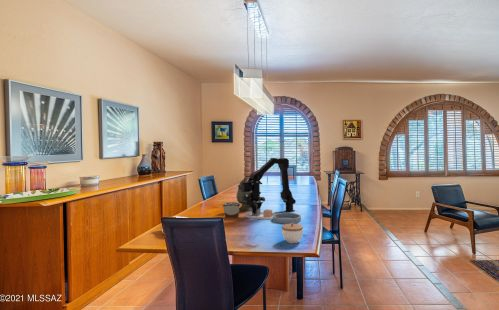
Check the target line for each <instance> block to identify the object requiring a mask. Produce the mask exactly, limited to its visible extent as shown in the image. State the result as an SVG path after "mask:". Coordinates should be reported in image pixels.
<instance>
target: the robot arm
mask: <svg viewBox="0 0 499 310" xmlns="http://www.w3.org/2000/svg"><path fill="white" fill-rule="evenodd" d="M275 164H277V166H278V168H279V170H280V176H281V184H282V191H280V192H279V194H280V198H281V200H282V202H283V203H285V204H284V205H285V210H283V213H295V211H296V210H295V209H294V204H296V202H297V201H296V199H295V198H294V197H293V193H292V191H291V189H290V184H289V183H290V182H289V181H290V180H289V172H288V171H289V170H288V169H289V166H290V160H289V159H288V158H287V157H286V158H285V157H280V158H276V157H270V158H269V160H268V161H266V162H265V163H264V164H263V165H262V166H261V167H260V168H258V169H257V170H255V171H253V172H252V173H250V176H249V178H247V182H242V185H241V191H242V192H250V191H251V190H252V192H251V193H250V195H248V196H247V195H244V198H243V199H244V200H245V201H247V200H248V201H247V202H246V205H250V206H251V207H252V210H253V213H254V214H256V210H257V209H260V210H261V207H262V206H263V203H264V202H265V201H266V198H265V197H264V196H261V193H262V192H261V188H260V185H263V182H262V181H261V180H262V179H263V177H264V175H265V173H266V172H267V171H269V170H270V169H271V168H272V167H273V166H274V165H275Z"/></svg>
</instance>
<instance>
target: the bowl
mask: <svg viewBox="0 0 499 310" xmlns="http://www.w3.org/2000/svg"><path fill="white" fill-rule="evenodd" d="M272 221H273V222H275V223H279V224H291V223H293V224H299V223H301V222H302V215H301V214H299V213H295V212H280V213H276V214H274V215H273V219H272Z"/></svg>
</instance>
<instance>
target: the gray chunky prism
mask: <svg viewBox="0 0 499 310" xmlns="http://www.w3.org/2000/svg"><path fill="white" fill-rule="evenodd" d="M260 212H261V208H260V209H257V210H256V214H254V213H253V210H252V211H251V213H252V216H260Z"/></svg>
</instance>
